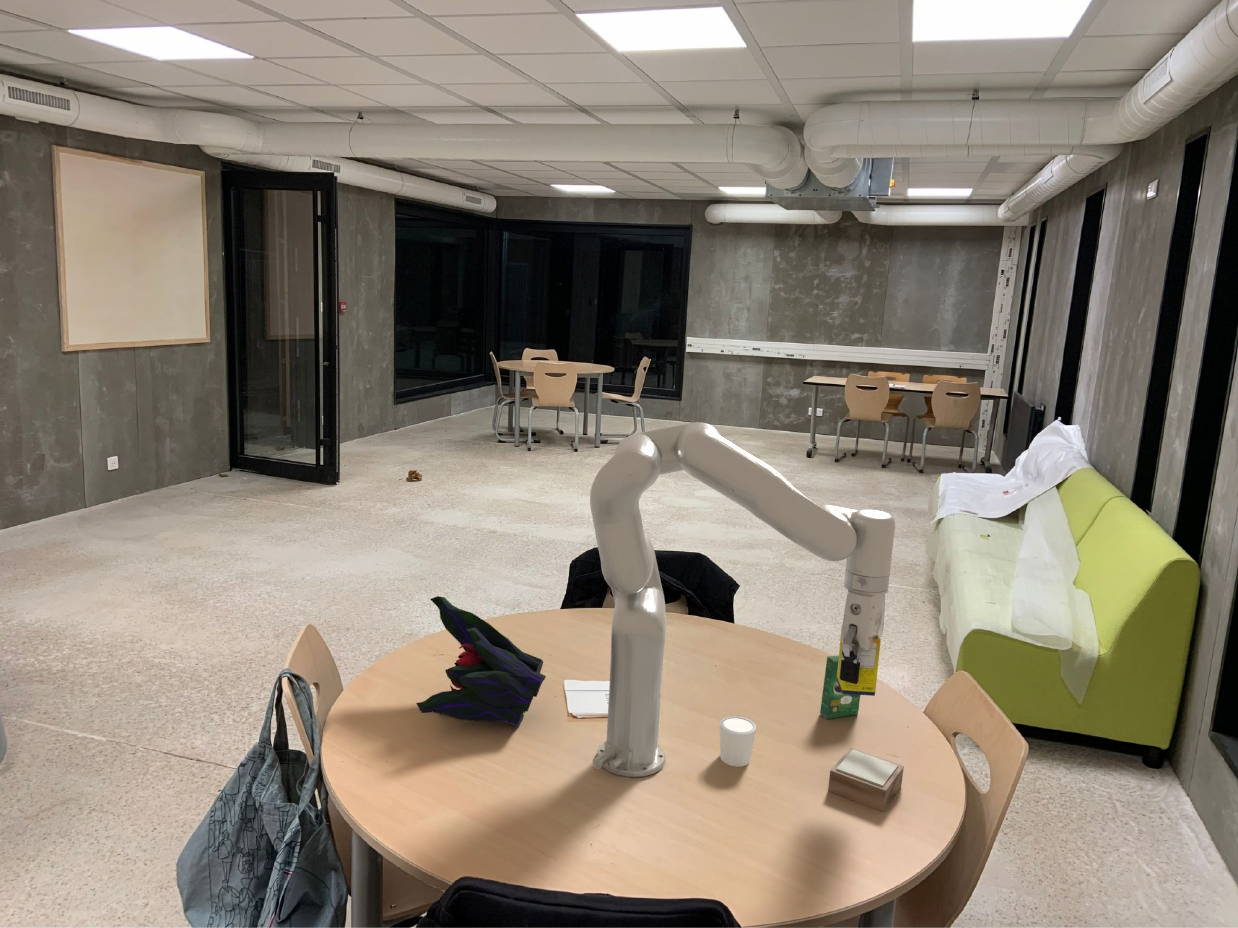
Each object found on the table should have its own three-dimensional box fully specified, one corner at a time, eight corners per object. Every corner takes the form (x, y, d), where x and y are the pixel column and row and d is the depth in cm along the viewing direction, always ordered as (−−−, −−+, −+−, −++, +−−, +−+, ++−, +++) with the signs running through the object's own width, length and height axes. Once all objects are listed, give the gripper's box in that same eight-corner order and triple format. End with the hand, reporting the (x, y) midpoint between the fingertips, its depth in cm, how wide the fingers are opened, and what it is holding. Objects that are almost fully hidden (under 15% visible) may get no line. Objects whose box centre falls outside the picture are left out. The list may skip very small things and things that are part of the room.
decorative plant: (506, 778, 172) (367, 720, 176) (553, 680, 193) (428, 629, 196) (521, 716, 160) (371, 655, 163) (569, 618, 180) (435, 565, 183)
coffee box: (851, 709, 188) (858, 651, 186) (859, 715, 186) (866, 657, 183) (819, 713, 186) (825, 655, 183) (826, 720, 183) (833, 661, 180)
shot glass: (725, 770, 162) (728, 735, 161) (711, 750, 169) (714, 717, 167) (759, 766, 164) (762, 731, 163) (744, 747, 170) (747, 714, 169)
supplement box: (868, 681, 162) (874, 625, 160) (875, 696, 156) (881, 639, 154) (835, 679, 162) (841, 623, 160) (841, 694, 156) (847, 636, 154)
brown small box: (883, 811, 152) (886, 789, 151) (827, 790, 157) (830, 768, 156) (901, 786, 160) (904, 764, 159) (848, 767, 165) (850, 746, 164)
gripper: (872, 598, 146) (861, 696, 149) (901, 572, 160) (891, 662, 164) (828, 588, 150) (819, 684, 153) (861, 564, 164) (851, 651, 168)
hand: (856, 672), depth 159 cm, fingers closed on supplement box, 8 cm apart
